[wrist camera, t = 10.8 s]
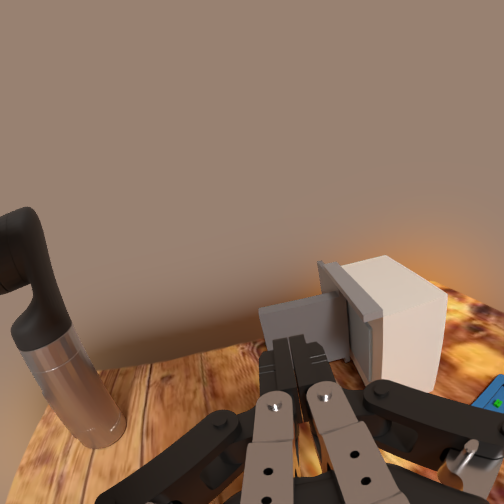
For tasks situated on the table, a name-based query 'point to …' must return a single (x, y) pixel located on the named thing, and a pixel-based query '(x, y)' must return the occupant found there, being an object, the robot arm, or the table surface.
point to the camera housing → (392, 321)
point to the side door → (311, 320)
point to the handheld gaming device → (492, 396)
